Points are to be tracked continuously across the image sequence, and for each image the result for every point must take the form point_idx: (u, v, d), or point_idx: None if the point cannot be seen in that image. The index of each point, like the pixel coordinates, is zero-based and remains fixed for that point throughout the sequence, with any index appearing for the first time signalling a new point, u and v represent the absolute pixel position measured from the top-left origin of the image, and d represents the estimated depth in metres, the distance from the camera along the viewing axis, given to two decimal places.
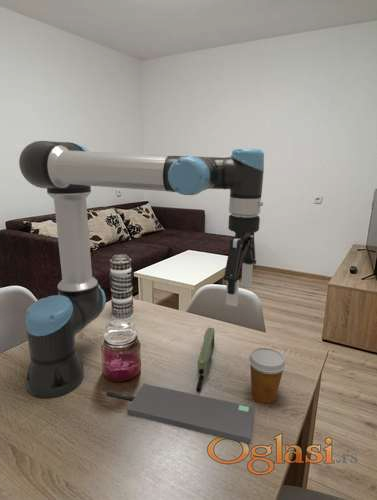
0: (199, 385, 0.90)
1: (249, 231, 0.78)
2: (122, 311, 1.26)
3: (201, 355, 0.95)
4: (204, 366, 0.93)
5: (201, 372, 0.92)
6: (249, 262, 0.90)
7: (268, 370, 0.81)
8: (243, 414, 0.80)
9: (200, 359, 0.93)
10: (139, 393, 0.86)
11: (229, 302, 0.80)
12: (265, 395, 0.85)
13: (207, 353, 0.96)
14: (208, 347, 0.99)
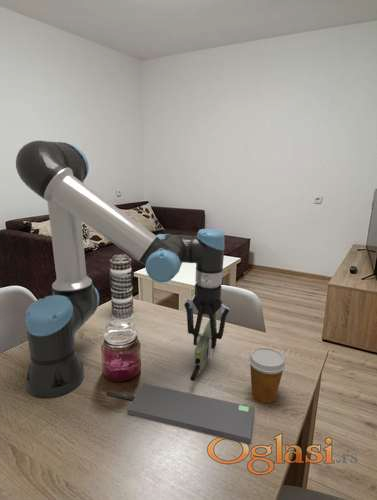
0: (194, 374, 0.89)
1: (195, 296, 0.93)
2: (122, 311, 1.26)
3: (199, 345, 0.94)
4: (200, 356, 0.92)
5: (197, 362, 0.92)
6: None
7: (268, 370, 0.81)
8: (243, 414, 0.80)
9: (197, 349, 0.92)
10: (139, 393, 0.86)
11: None
12: (265, 395, 0.85)
13: (205, 343, 0.95)
14: (207, 338, 0.98)
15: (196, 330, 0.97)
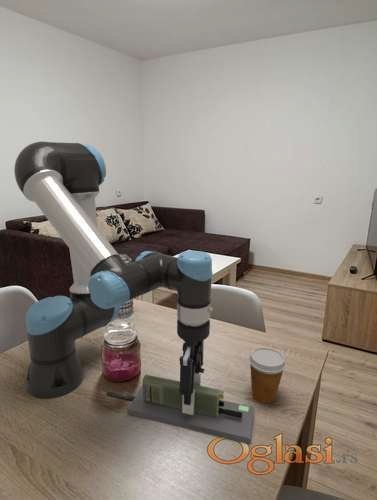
0: (237, 412, 0.78)
1: (199, 340, 0.72)
2: (122, 311, 1.26)
3: (208, 391, 0.78)
4: None
5: (223, 403, 0.78)
6: (197, 370, 0.82)
7: (268, 370, 0.81)
8: (243, 414, 0.80)
9: (216, 392, 0.77)
10: (139, 393, 0.86)
11: (186, 411, 0.78)
12: (265, 395, 0.85)
13: (203, 386, 0.80)
14: None
15: (193, 384, 0.75)
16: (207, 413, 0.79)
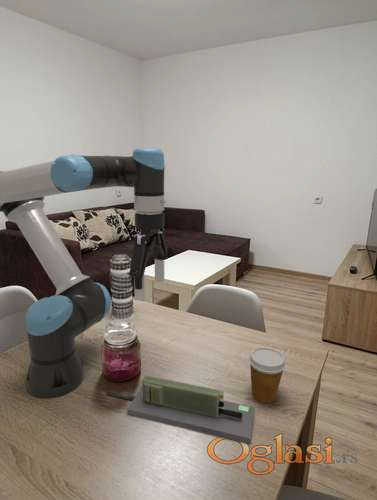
0: (237, 412, 0.78)
1: (153, 228, 0.81)
2: (122, 311, 1.26)
3: (208, 391, 0.78)
4: None
5: (223, 403, 0.78)
6: (161, 258, 0.93)
7: (268, 370, 0.81)
8: (243, 414, 0.80)
9: (216, 393, 0.77)
10: (139, 393, 0.86)
11: (138, 297, 0.82)
12: (265, 395, 0.85)
13: None
14: (190, 384, 0.80)
15: (144, 268, 0.80)
16: (207, 414, 0.79)
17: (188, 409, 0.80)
